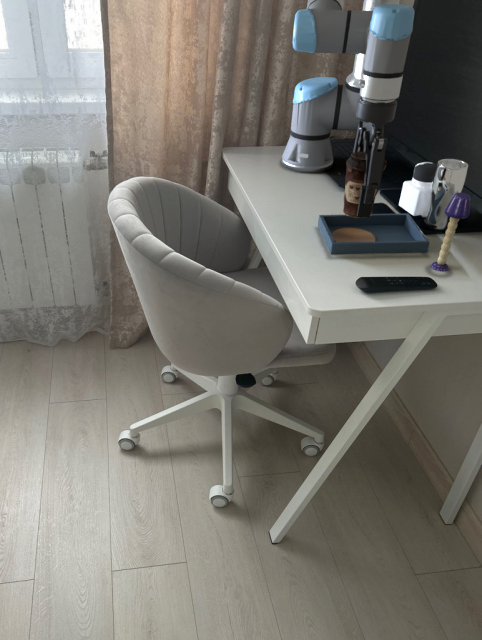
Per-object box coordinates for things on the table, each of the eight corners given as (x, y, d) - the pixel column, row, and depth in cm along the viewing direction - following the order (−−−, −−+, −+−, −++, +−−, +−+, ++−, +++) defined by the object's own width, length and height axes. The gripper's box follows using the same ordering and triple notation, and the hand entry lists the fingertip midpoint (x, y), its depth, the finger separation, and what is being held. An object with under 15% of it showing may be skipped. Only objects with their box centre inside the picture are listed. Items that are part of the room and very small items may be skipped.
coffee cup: (377, 223, 123) (389, 163, 115) (338, 220, 124) (347, 160, 116) (375, 207, 130) (387, 149, 121) (338, 204, 131) (347, 146, 123)
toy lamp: (429, 263, 123) (450, 188, 113) (451, 267, 122) (475, 192, 111) (427, 273, 120) (448, 197, 109) (450, 277, 119) (474, 201, 108)
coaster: (327, 229, 135) (327, 228, 134) (368, 228, 135) (369, 227, 135) (336, 248, 127) (336, 247, 127) (380, 247, 127) (380, 246, 127)
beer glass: (415, 222, 139) (430, 161, 130) (437, 217, 142) (454, 156, 132) (434, 233, 135) (452, 170, 125) (457, 228, 137) (476, 166, 127)
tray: (317, 228, 137) (319, 214, 135) (405, 226, 138) (408, 213, 135) (330, 258, 126) (332, 243, 123) (426, 256, 126) (430, 241, 124)
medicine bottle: (437, 215, 142) (450, 168, 135) (412, 219, 141) (424, 171, 133) (421, 204, 148) (433, 158, 140) (397, 208, 146) (407, 161, 138)
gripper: (347, 86, 119) (332, 191, 134) (373, 112, 104) (352, 229, 118) (382, 85, 120) (363, 191, 134) (413, 112, 104) (388, 228, 118)
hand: (358, 208), depth 126 cm, fingers closed on coffee cup, 7 cm apart
